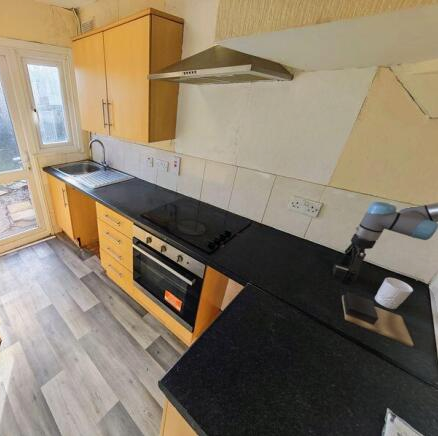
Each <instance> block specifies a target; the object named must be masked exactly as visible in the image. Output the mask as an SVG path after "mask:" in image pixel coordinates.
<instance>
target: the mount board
mask: <svg viewBox="0 0 438 436" xmlns="http://www.w3.org/2000/svg"><path fill="white" fill-rule="evenodd" d="M341 302H342V308H343V314H344V320H345V321H346V322H347V321H348V322H349V323H352V324H355V325H357V326H360V327H362V328H365V329H367V330H370V331H372V332H375V333H377V334H378V335H382V336H385V337H386V338H390V339H392V340H394V341H396V342H400V343H402V344H404V345H407V346H408V347H409V346H410V347H414V346H415V344H414V342H413V340H412V337H411V335H410V332H409V330H408V328H407V326H406V324H405V321H404V319H403V317H402V315H399V314H396V313H393V312H390V311H388V310H385V309H382V308H379V307H377V306H375V303H374V301H373V300H371V299H369V298H366V297H363V296H360V295H358V294H354V293H352V292H350V291H346V293H345V294H343V295H341Z"/></svg>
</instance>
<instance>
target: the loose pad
mask: <svg viewBox="0 0 438 436" xmlns="http://www.w3.org/2000/svg"><path fill="white" fill-rule="evenodd" d="M349 267H350V266H348V265H347V266H343V265H340V263H337V262H335V263H334V265H333V267H332V273H333V276H334V275H335V276H334V277H337V276H338V277H337V278H340V277H341V278H340V279H342V278H343V277H344V275H345V273H346V272H347V271H346V270H349ZM358 278H359V274H358V275H354V277H353V278H352V280H351V281H350V282H352V281H353V282H352V283H356V282H357V279H358Z"/></svg>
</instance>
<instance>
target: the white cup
mask: <svg viewBox="0 0 438 436" xmlns="http://www.w3.org/2000/svg"><path fill="white" fill-rule="evenodd" d="M413 292H414V288H413V287H412V286H410V284H408V283H406V282H404V281H402V280H400V279H397V278H394V277H385V278H384V280H383V281H382V283H381V284H380V287H379V288H378V290H377V292H376V295H375V296H374V300H375V302H376V303H377V304H379V305H380V306H382V307H385V308H387V309H391V310H397V308H398V307H399V306H400V305H401V304H403V303H404V302H405V301H406V300H407V298H408V297H409V296H410V295H411V294H412V293H413Z"/></svg>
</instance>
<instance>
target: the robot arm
mask: <svg viewBox="0 0 438 436" xmlns="http://www.w3.org/2000/svg"><path fill="white" fill-rule="evenodd" d="M401 209H402V208H401ZM401 209H400V210H399V211H397V206H395V205H393V204H390V203H387V202H382V201H375V202H372V203H370V205H369V207H368V208H367V210H366V212H365V214H364V215H363V217H362V219H361V221H360V223H359V225H358V226H356V227H355V229H356V230H355V232H354V234H353V235H352V237H351V239H350V242H351V243H350V244H349V245H348V246H347V248H346V249H345V250H344V255H343V257H342V258H341V260H340V262H339V264H340V265H343V266H347V267H349V270H346V271H347V272H346V273H345V275H344V277H343V278H341V280H340V282H341V283H342V284H345V285H347V286H348V285H349V284H351V282H352V281H351V280H352V278H353V277H354V275H358V276H359V272H360V269H361V267H362V265H363V262H364V259H365V258H366V256H367V253H366V251H365V250H370V249H373V248H374V247H375V245H376V243H377V241H379V239H380V237H381V235H382V234H383V232H384V230H387V231H390V232H393V233H398V234H401V235H404V236H407V237H410V238H412V239H416V240H417V239H418V240H422V241H428V240H430V239H431V238H432V237H433V236H434V235H435V233H436V232H437V230H438V202H433V203H429V204H424V205H419V206H417V207H410V208H405V209H402V210H401ZM348 265H349V266H348Z"/></svg>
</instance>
